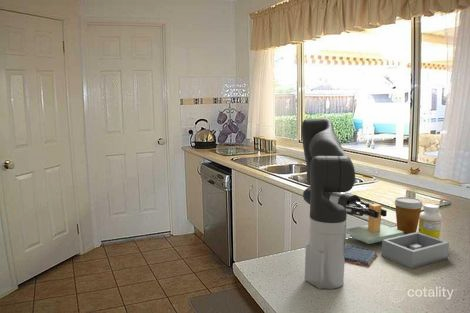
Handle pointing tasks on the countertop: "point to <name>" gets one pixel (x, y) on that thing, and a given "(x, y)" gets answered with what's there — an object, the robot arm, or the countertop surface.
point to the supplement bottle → (430, 221)
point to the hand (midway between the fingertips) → (381, 214)
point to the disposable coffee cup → (407, 214)
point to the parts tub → (415, 249)
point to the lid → (374, 229)
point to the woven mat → (359, 256)
